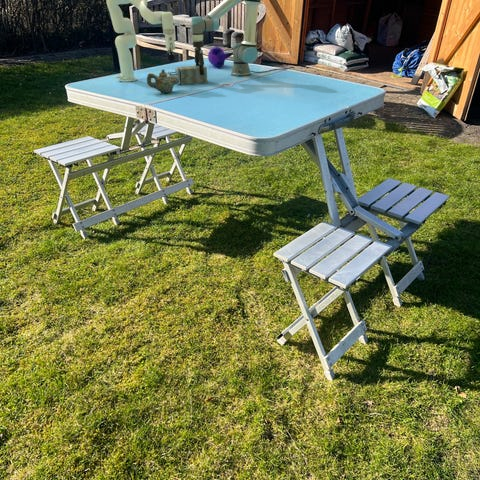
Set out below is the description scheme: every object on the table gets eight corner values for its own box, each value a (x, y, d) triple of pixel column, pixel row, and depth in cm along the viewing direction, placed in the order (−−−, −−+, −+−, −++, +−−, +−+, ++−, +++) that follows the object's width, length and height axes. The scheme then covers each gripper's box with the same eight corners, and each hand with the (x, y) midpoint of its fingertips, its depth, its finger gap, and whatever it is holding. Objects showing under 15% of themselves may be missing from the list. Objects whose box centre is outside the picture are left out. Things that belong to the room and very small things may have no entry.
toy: (218, 69, 373) (208, 68, 396) (237, 62, 376) (226, 61, 399) (212, 50, 365) (203, 50, 388) (232, 42, 368) (221, 43, 392)
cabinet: (181, 85, 324) (180, 69, 318) (178, 82, 332) (177, 67, 327) (207, 83, 329) (206, 67, 323) (203, 80, 337) (202, 65, 332)
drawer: (170, 84, 321) (169, 71, 317) (168, 82, 329) (167, 69, 324) (203, 81, 328) (202, 68, 323) (199, 79, 336) (199, 66, 331)
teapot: (178, 89, 310) (176, 66, 303) (181, 93, 301) (179, 69, 293) (147, 92, 305) (144, 69, 297) (149, 95, 295) (147, 71, 288)
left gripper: (176, 32, 303) (178, 61, 312) (171, 30, 317) (173, 58, 326) (165, 33, 301) (168, 62, 310) (160, 31, 315) (163, 58, 324)
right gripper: (207, 42, 309) (209, 76, 321) (199, 39, 328) (200, 70, 339) (196, 43, 307) (199, 76, 319) (189, 39, 326) (191, 71, 337)
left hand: (171, 59), depth 318 cm, fingers open, 4 cm apart
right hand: (200, 73), depth 329 cm, fingers closed on cabinet, 10 cm apart
